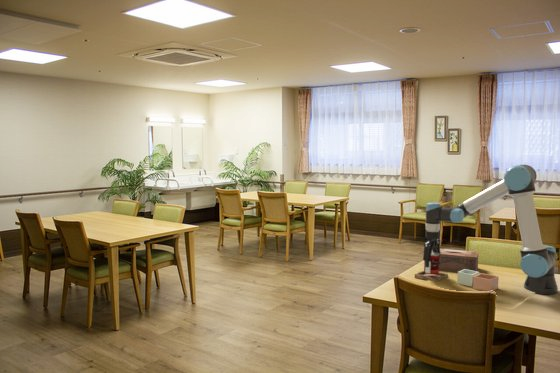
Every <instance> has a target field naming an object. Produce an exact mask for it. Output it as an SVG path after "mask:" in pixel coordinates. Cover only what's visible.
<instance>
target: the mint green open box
mask: <svg viewBox="0 0 560 373" xmlns="http://www.w3.org/2000/svg"><path fill="white" fill-rule="evenodd" d="M478 274H480V272H479V271H478V270H477V271H472V270H467V269H464V270H461V271H459V272H457V284H458V285H464V286H467V287H472V288H473V277H474V276H476V275H478Z"/></svg>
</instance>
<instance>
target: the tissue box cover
mask: <svg viewBox="0 0 560 373" xmlns="http://www.w3.org/2000/svg"><path fill="white" fill-rule="evenodd" d="M432 252H433V250H432ZM478 268H479V251H474V250H473V251H472V250H471V251H470V250H461V249H452V248H451V249H450V248H440V259H439V271H440V270H441V271H447V272H453V273H454V272H455V273H458V272H459V271H461V270H464V269H467V270H472V271H477V272H478V270H479V269H478Z"/></svg>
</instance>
